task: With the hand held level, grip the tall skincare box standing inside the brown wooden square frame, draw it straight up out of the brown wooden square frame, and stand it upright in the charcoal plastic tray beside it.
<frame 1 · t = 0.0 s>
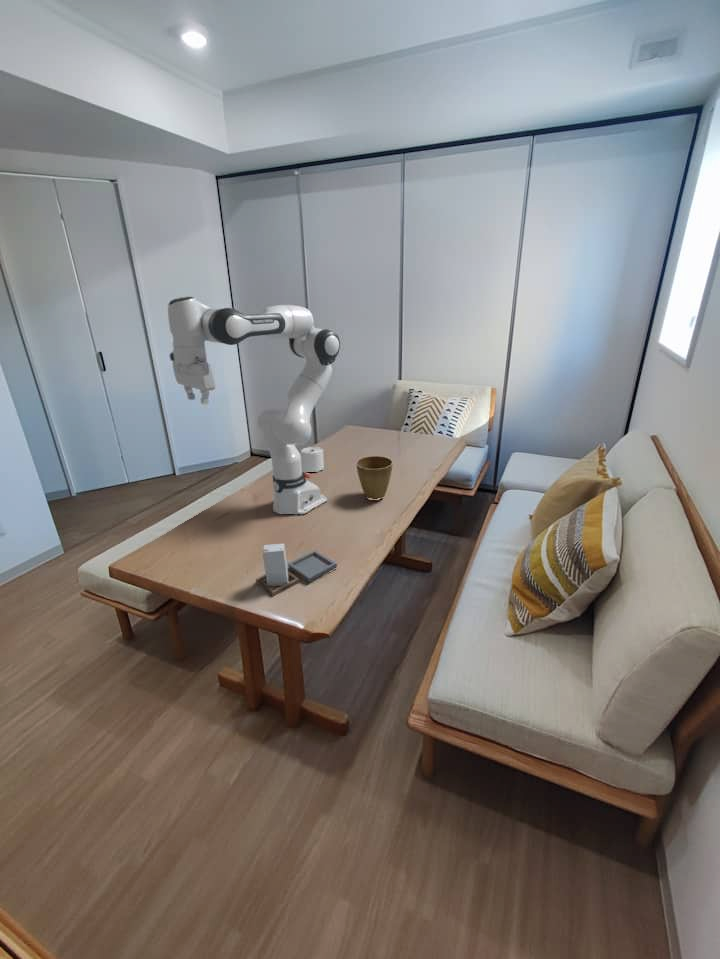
hand: (198, 401, 132), 48 cm above the table, tool pointing down, fingers open, 8 cm apart
toilet tissue: (312, 470, 209), on the table
tray: (312, 568, 131), on the table
brown wooden square frame: (277, 582, 125), on the table
skincare box: (277, 583, 125), resting in brown wooden square frame
plant pot: (374, 498, 178), on the table
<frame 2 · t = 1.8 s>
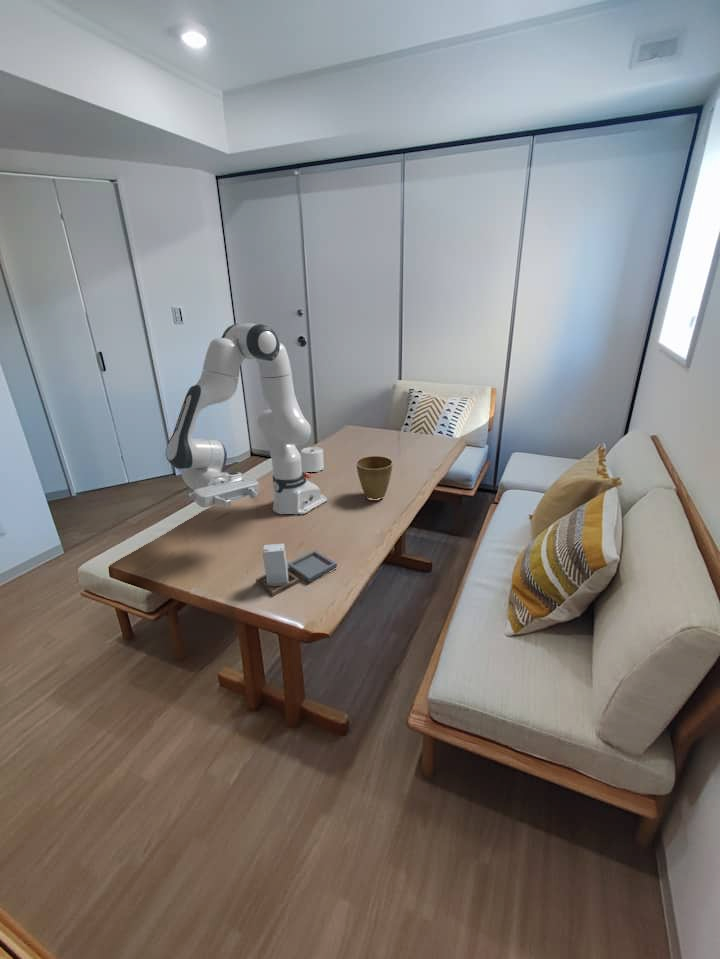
hand: (242, 499, 127), 22 cm above the table, tool horizontal, fingers open, 8 cm apart
nothing on the table moved.
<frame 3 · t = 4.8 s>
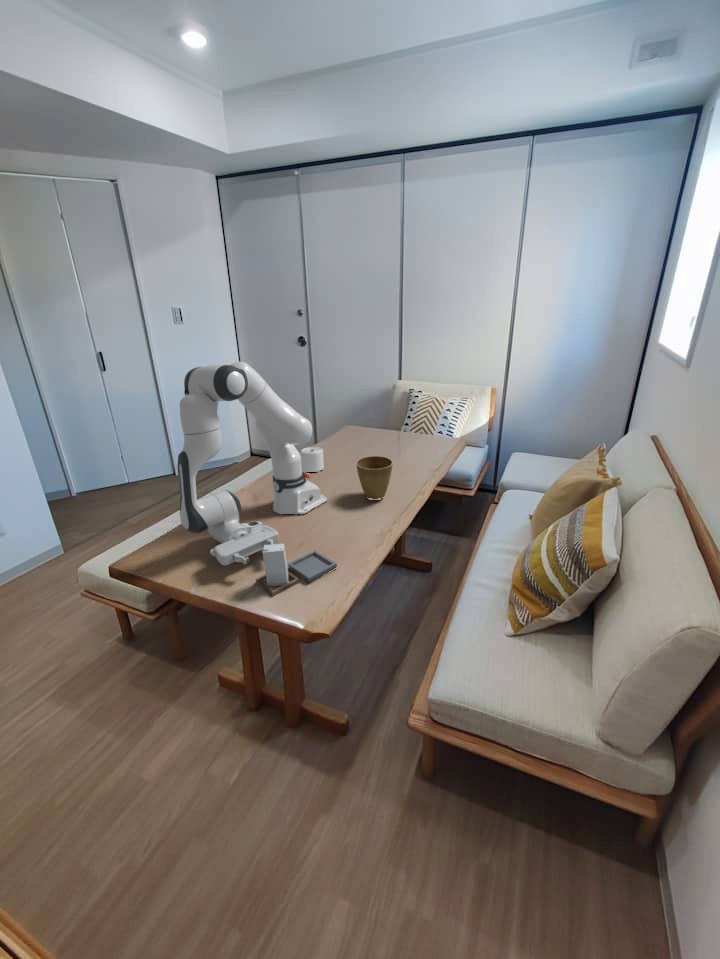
hand: (261, 555, 128), 6 cm above the table, tool horizontal, fingers open, 8 cm apart
nothing on the table moved.
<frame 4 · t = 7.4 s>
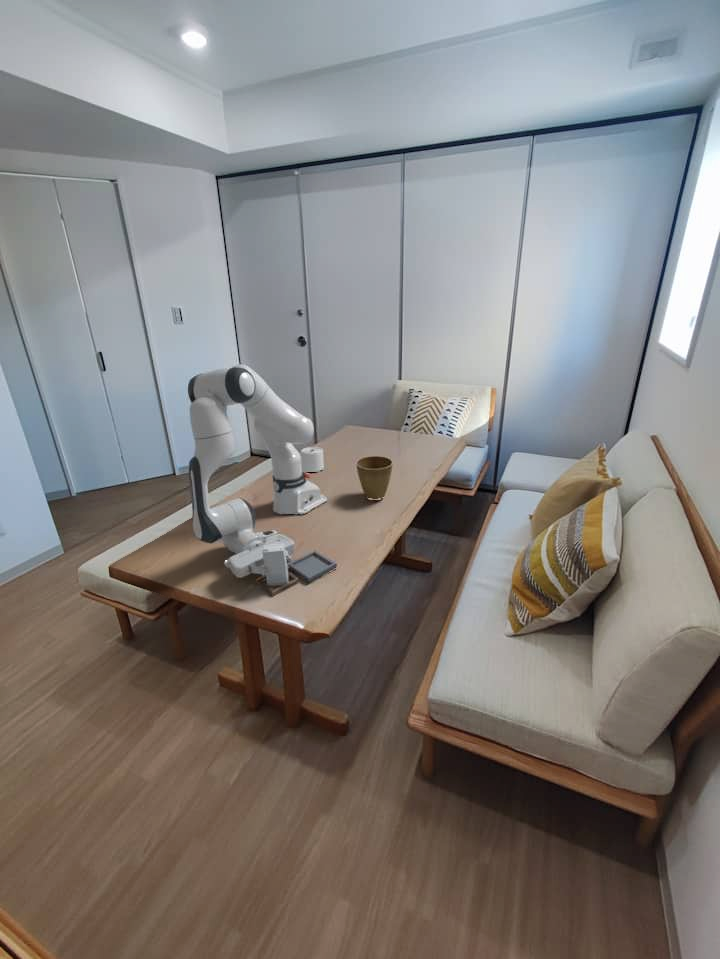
hand: (277, 566, 122), 6 cm above the table, tool horizontal, fingers closed on skincare box, 7 cm apart
skincare box: (277, 582, 125), resting in brown wooden square frame, touching gripper
everything else where it was.
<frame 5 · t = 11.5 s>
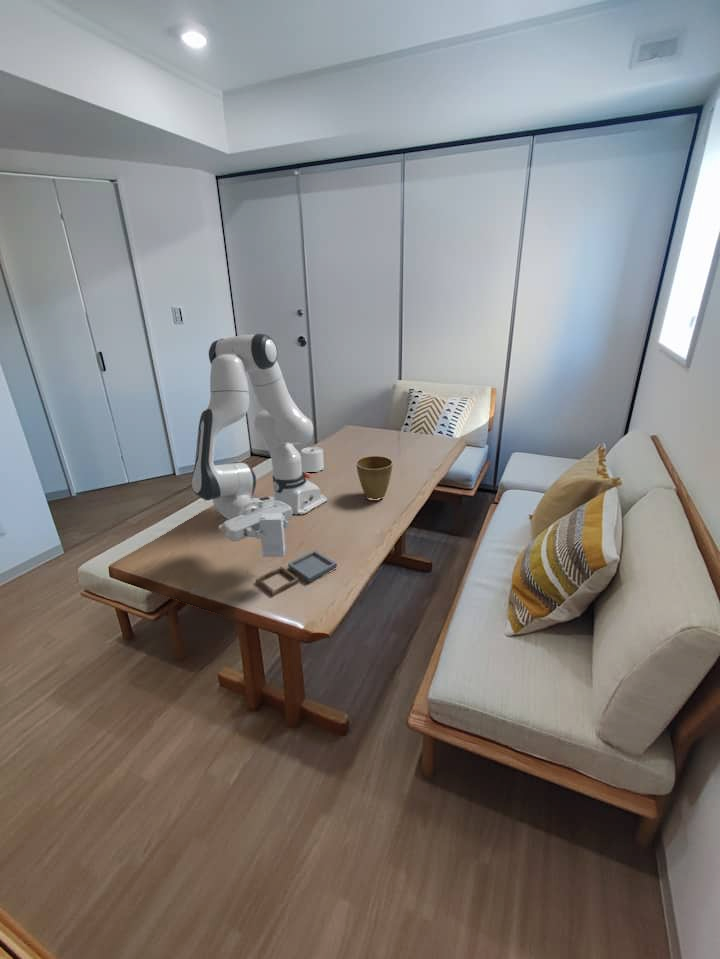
hand: (274, 530, 118), 18 cm above the table, tool horizontal, fingers closed on skincare box, 7 cm apart
skincare box: (274, 554, 121), point 10 cm above the table, touching gripper
everything else where it was.
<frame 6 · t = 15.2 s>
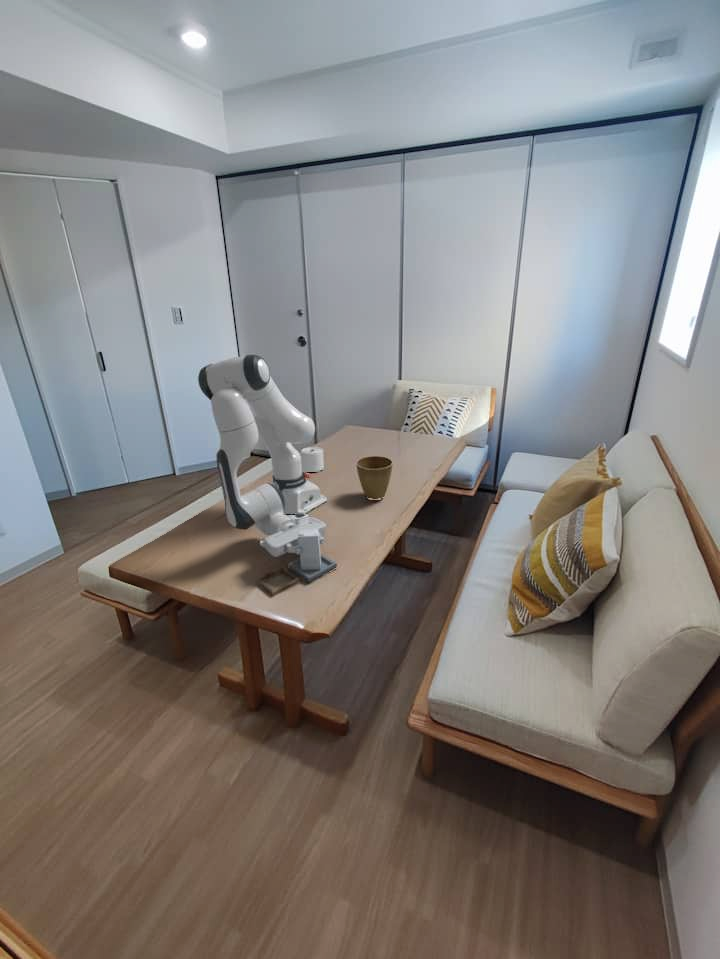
hand: (311, 546, 127), 9 cm above the table, tool horizontal, fingers closed on skincare box, 7 cm apart
skincare box: (311, 567, 130), point 1 cm above the table, touching gripper, tray
everything else where it was.
when the fingers open (9 cm above the table, at t = 15.4 s): skincare box stays where it is, resting on tray.
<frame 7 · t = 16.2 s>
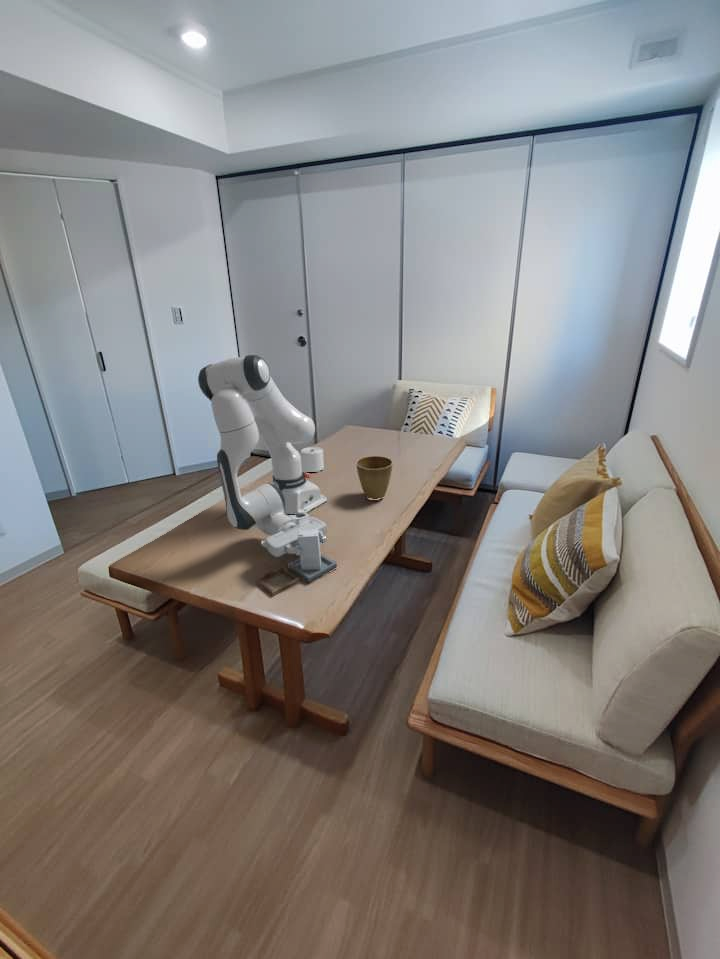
hand: (312, 546, 127), 9 cm above the table, tool horizontal, fingers open, 8 cm apart
skincare box: (311, 567, 130), point 1 cm above the table, touching gripper, tray
everything else where it was.
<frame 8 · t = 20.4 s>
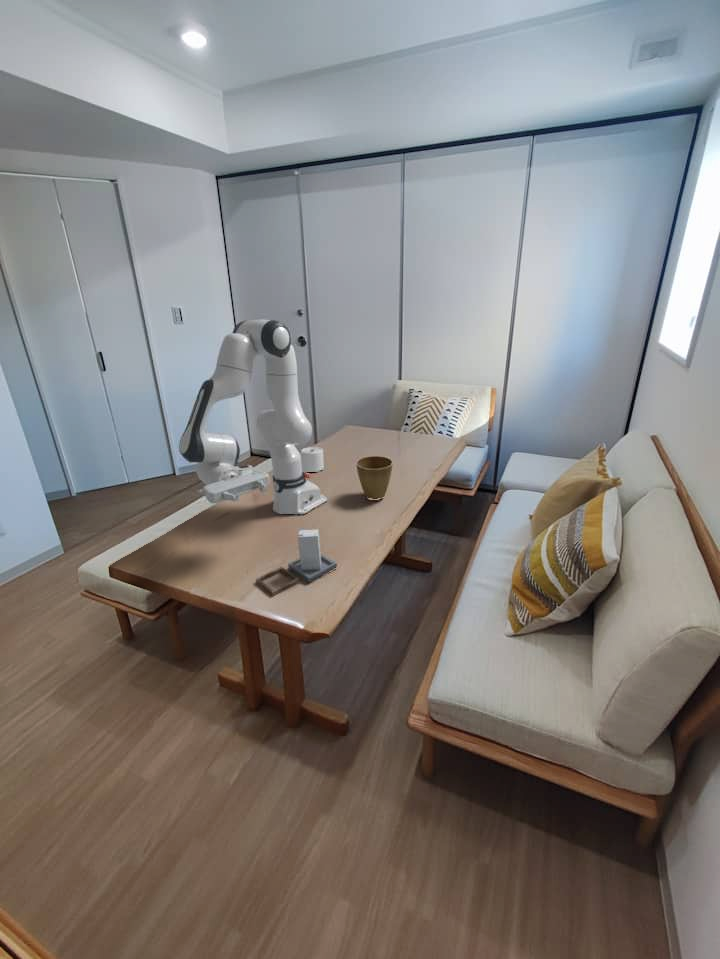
hand: (250, 493, 126), 24 cm above the table, tool horizontal, fingers open, 8 cm apart
skincare box: (311, 567, 130), point 1 cm above the table, touching tray
everything else where it was.
at the end: skincare box 0.6 cm off-centre on the tray, point 0.8 cm above the tray's base; skincare box tilted 0°; the gripper is holding nothing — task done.
